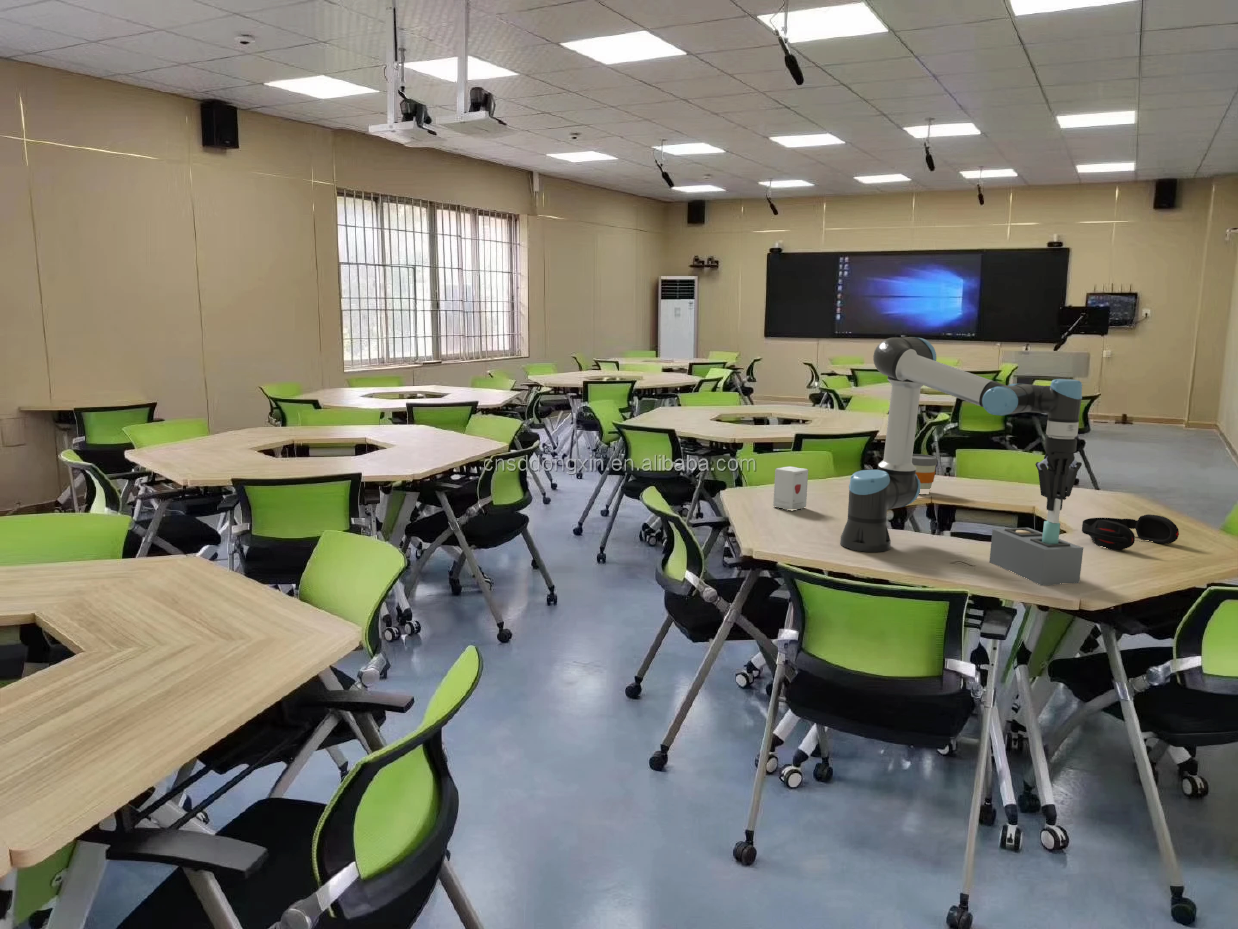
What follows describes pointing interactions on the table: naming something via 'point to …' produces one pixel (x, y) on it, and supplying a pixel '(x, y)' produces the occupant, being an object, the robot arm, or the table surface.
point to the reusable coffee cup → (925, 469)
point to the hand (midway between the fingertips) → (1052, 521)
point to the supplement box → (790, 487)
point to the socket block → (1036, 556)
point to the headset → (1129, 531)
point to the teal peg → (1051, 532)
